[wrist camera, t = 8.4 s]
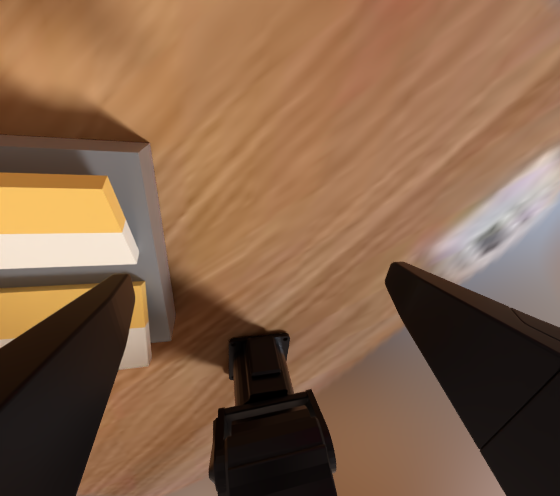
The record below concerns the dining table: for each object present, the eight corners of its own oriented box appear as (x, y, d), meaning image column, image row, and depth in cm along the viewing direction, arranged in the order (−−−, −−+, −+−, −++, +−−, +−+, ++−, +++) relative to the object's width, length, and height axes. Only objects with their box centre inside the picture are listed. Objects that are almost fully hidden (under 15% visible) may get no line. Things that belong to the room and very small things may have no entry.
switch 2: (151, 357, 20) (148, 366, 19) (-50, 379, 17) (-66, 390, 16) (145, 280, 18) (140, 285, 17) (-73, 291, 16) (-92, 298, 15)
